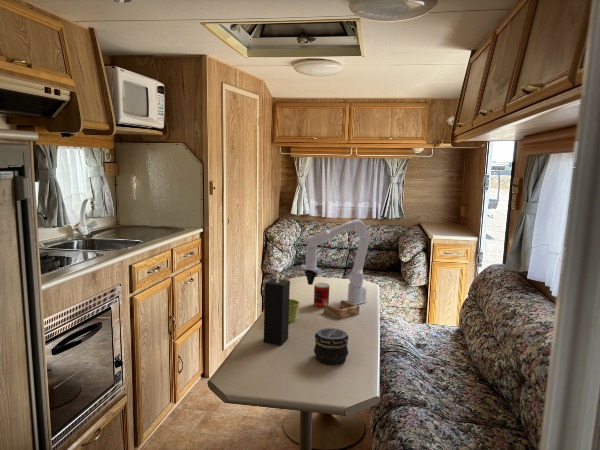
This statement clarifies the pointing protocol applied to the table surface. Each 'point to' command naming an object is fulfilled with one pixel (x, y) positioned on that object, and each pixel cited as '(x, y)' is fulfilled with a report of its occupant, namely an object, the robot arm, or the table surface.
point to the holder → (342, 310)
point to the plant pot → (292, 309)
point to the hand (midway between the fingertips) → (310, 284)
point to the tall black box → (276, 311)
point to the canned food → (321, 294)
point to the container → (331, 346)
